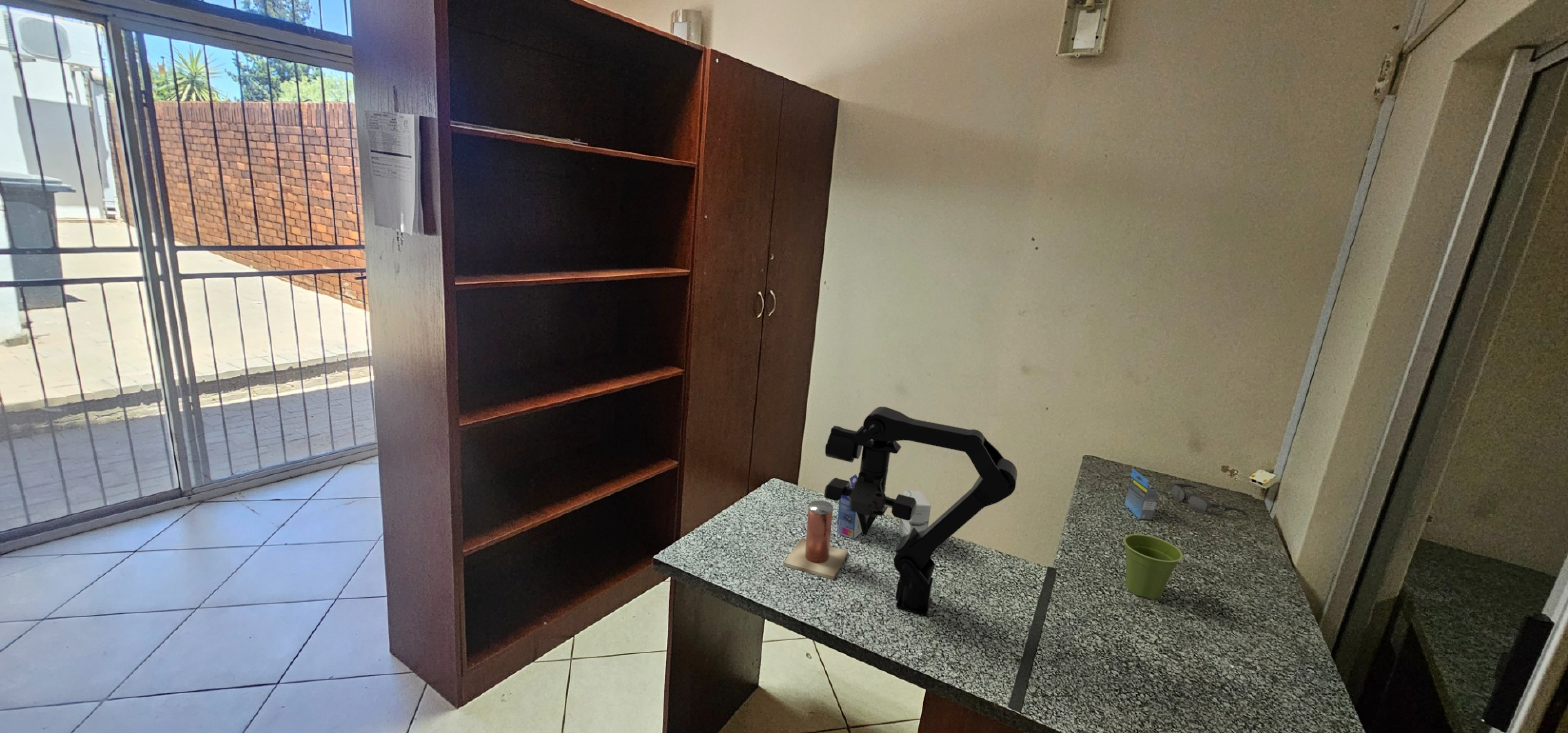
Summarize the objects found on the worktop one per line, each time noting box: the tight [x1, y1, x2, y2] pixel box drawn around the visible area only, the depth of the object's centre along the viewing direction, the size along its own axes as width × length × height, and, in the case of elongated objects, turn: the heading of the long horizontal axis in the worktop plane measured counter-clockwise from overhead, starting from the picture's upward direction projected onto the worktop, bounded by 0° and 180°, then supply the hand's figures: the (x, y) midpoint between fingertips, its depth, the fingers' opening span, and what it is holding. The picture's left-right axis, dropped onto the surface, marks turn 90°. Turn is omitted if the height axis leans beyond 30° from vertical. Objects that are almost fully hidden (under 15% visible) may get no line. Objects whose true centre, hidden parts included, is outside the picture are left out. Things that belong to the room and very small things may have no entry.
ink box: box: [897, 490, 932, 538], centre depth 155 cm, size 9×5×12 cm, turn 6°
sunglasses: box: [1170, 482, 1247, 515], centre depth 190 cm, size 16×17×5 cm
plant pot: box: [1122, 533, 1184, 600], centre depth 140 cm, size 12×12×11 cm
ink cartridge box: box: [836, 473, 869, 540], centre depth 157 cm, size 10×6×14 cm, turn 148°
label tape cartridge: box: [1124, 467, 1159, 521], centre depth 179 cm, size 9×4×12 cm, turn 179°
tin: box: [805, 500, 834, 563], centre depth 142 cm, size 6×6×13 cm
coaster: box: [783, 538, 849, 580], centre depth 144 cm, size 12×12×1 cm
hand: (865, 534), depth 131 cm, fingers closed
